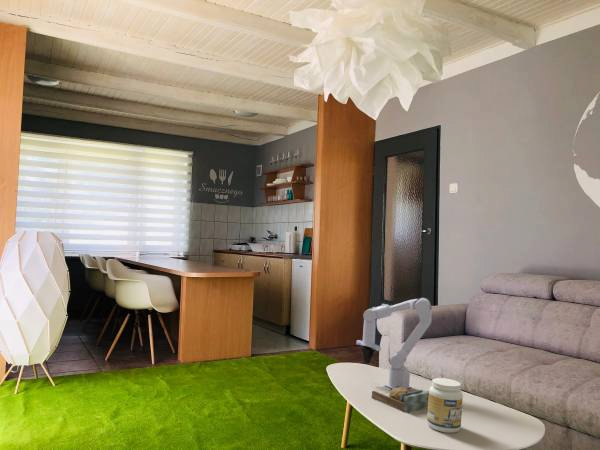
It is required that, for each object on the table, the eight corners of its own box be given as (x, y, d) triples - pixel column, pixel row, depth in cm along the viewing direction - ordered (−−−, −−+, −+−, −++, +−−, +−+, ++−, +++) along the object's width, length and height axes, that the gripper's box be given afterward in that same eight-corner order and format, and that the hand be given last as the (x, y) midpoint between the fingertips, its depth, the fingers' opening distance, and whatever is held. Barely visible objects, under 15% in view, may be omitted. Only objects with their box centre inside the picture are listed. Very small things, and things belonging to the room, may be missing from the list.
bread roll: (386, 409, 208) (384, 394, 205) (394, 393, 216) (392, 379, 213) (409, 415, 203) (407, 399, 200) (416, 398, 211) (415, 383, 208)
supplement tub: (446, 436, 174) (449, 388, 174) (420, 424, 183) (422, 379, 184) (467, 430, 181) (470, 384, 181) (440, 419, 191) (443, 375, 191)
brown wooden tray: (397, 392, 220) (398, 379, 220) (432, 406, 205) (432, 391, 205) (371, 398, 210) (372, 384, 211) (406, 412, 195) (407, 397, 195)
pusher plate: (420, 402, 208) (421, 389, 208) (421, 403, 207) (422, 390, 207) (399, 407, 200) (400, 394, 200) (401, 408, 199) (401, 394, 199)
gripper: (352, 331, 237) (350, 359, 237) (374, 337, 225) (372, 367, 225) (363, 330, 241) (361, 358, 241) (384, 336, 230) (382, 365, 229)
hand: (367, 362), depth 233 cm, fingers closed
